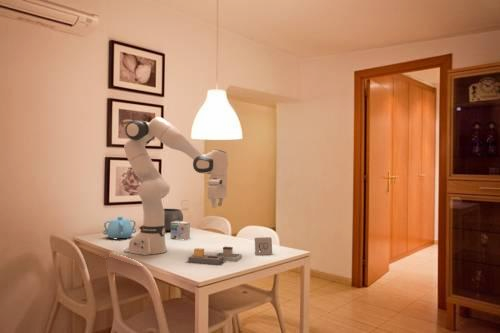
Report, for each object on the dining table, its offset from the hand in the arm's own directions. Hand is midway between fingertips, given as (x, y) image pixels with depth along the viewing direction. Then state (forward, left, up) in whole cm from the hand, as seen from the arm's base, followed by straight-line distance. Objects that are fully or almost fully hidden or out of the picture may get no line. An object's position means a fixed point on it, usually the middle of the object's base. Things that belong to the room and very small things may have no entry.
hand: (217, 206), depth 195 cm
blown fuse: (+9, -9, -25) cm, 28 cm away
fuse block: (+1, -18, -26) cm, 31 cm away
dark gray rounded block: (-56, +59, -26) cm, 85 cm away
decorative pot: (-73, +25, -26) cm, 81 cm away
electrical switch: (+23, +10, -26) cm, 36 cm away
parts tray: (+9, -9, -26) cm, 28 cm away
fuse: (-3, -18, -25) cm, 31 cm away
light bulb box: (-36, +35, -26) cm, 56 cm away
